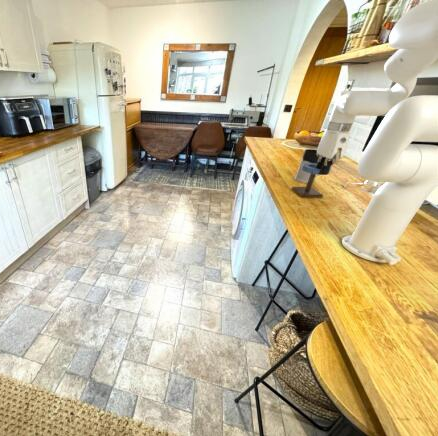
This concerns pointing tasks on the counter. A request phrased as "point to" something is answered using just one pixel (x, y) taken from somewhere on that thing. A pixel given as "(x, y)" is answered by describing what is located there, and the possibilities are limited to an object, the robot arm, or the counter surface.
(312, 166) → the ring
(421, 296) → the counter surface
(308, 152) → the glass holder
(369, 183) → the wineglass
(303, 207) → the counter surface
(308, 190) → the stand
